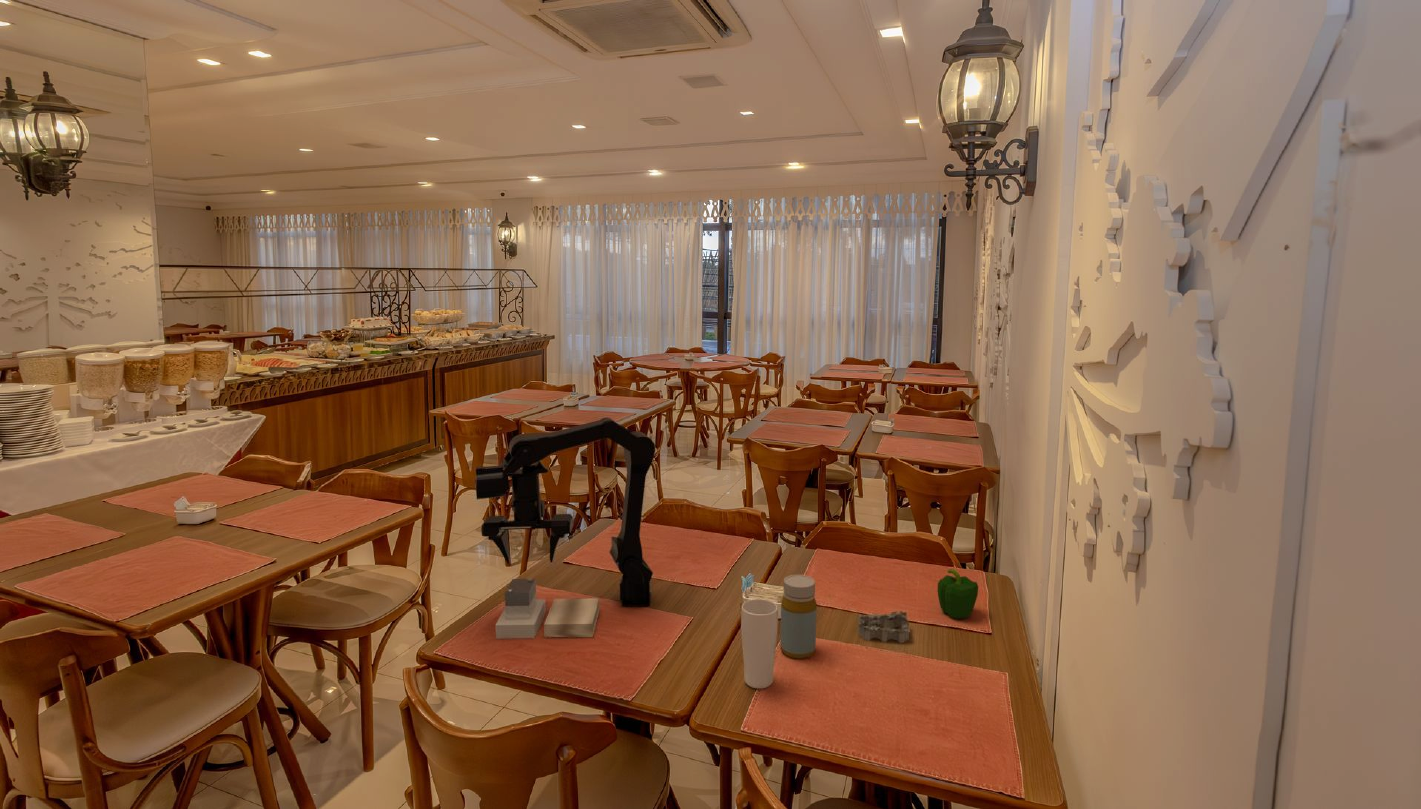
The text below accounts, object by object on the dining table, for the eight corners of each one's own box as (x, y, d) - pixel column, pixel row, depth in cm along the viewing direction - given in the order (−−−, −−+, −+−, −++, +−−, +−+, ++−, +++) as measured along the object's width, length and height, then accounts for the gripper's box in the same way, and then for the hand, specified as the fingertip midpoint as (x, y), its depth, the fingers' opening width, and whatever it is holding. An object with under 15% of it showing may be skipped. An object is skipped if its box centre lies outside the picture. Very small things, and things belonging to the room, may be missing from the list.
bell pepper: (984, 619, 159) (987, 576, 157) (953, 625, 156) (956, 581, 154) (959, 603, 166) (962, 562, 165) (929, 608, 164) (932, 567, 162)
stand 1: (545, 611, 162) (545, 599, 161) (534, 638, 150) (534, 624, 150) (510, 612, 162) (509, 599, 161) (496, 638, 150) (495, 625, 149)
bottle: (818, 645, 147) (820, 576, 145) (811, 662, 141) (813, 590, 138) (784, 640, 149) (786, 571, 147) (776, 656, 143) (778, 585, 140)
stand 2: (599, 610, 162) (599, 598, 162) (592, 637, 151) (592, 623, 150) (554, 611, 162) (554, 599, 162) (544, 637, 150) (543, 624, 150)
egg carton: (907, 629, 155) (908, 611, 154) (909, 646, 148) (911, 627, 147) (857, 624, 157) (858, 606, 156) (856, 640, 150) (857, 622, 149)
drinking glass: (778, 692, 131) (779, 615, 128) (740, 692, 131) (741, 615, 128) (775, 672, 137) (777, 598, 135) (740, 671, 137) (740, 598, 135)
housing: (536, 604, 159) (535, 577, 158) (529, 619, 152) (528, 591, 151) (513, 604, 159) (512, 577, 158) (506, 619, 152) (504, 591, 151)
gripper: (575, 481, 163) (578, 547, 166) (491, 484, 162) (495, 549, 165) (568, 496, 152) (571, 566, 155) (478, 499, 151) (483, 569, 154)
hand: (530, 562), depth 157 cm, fingers open, 9 cm apart
